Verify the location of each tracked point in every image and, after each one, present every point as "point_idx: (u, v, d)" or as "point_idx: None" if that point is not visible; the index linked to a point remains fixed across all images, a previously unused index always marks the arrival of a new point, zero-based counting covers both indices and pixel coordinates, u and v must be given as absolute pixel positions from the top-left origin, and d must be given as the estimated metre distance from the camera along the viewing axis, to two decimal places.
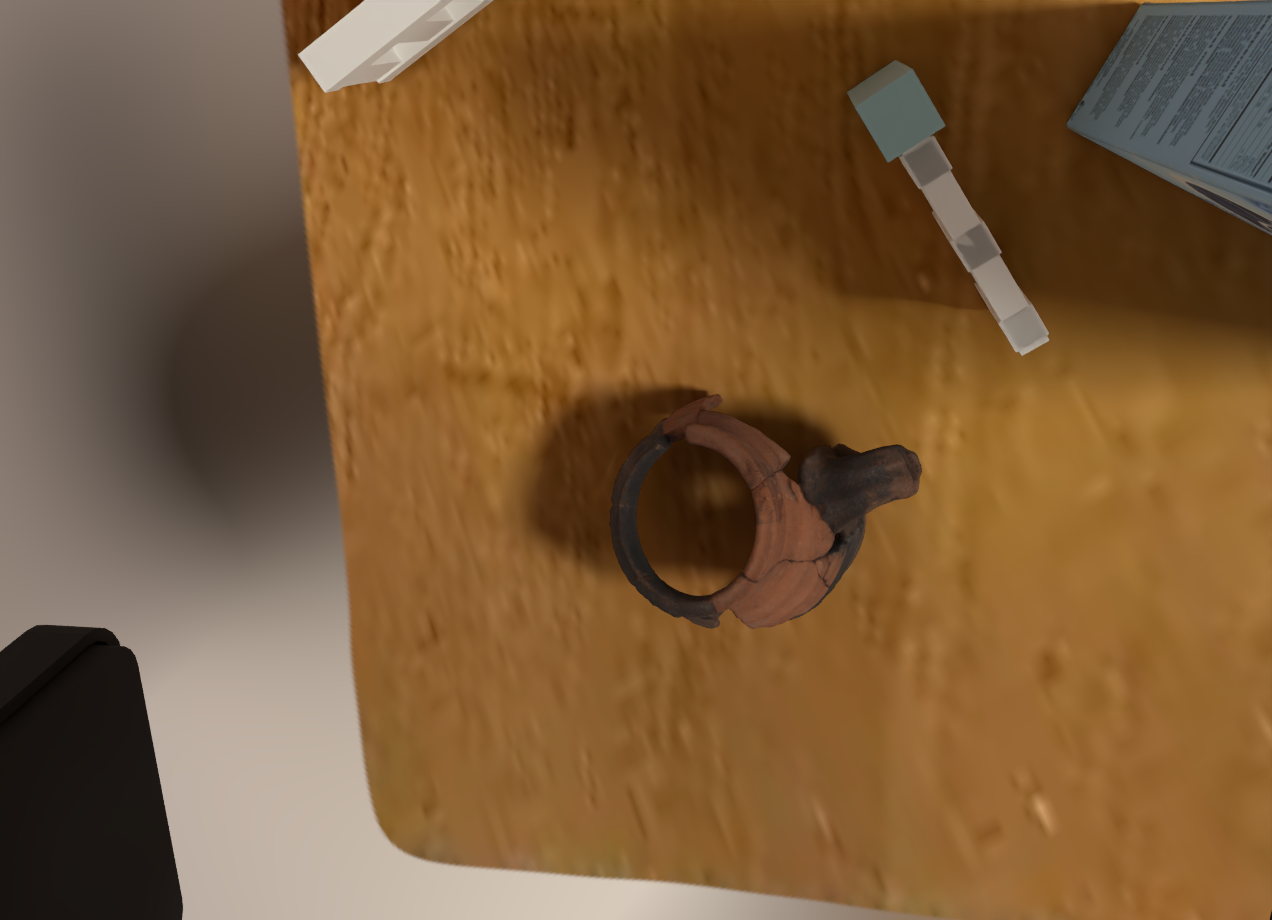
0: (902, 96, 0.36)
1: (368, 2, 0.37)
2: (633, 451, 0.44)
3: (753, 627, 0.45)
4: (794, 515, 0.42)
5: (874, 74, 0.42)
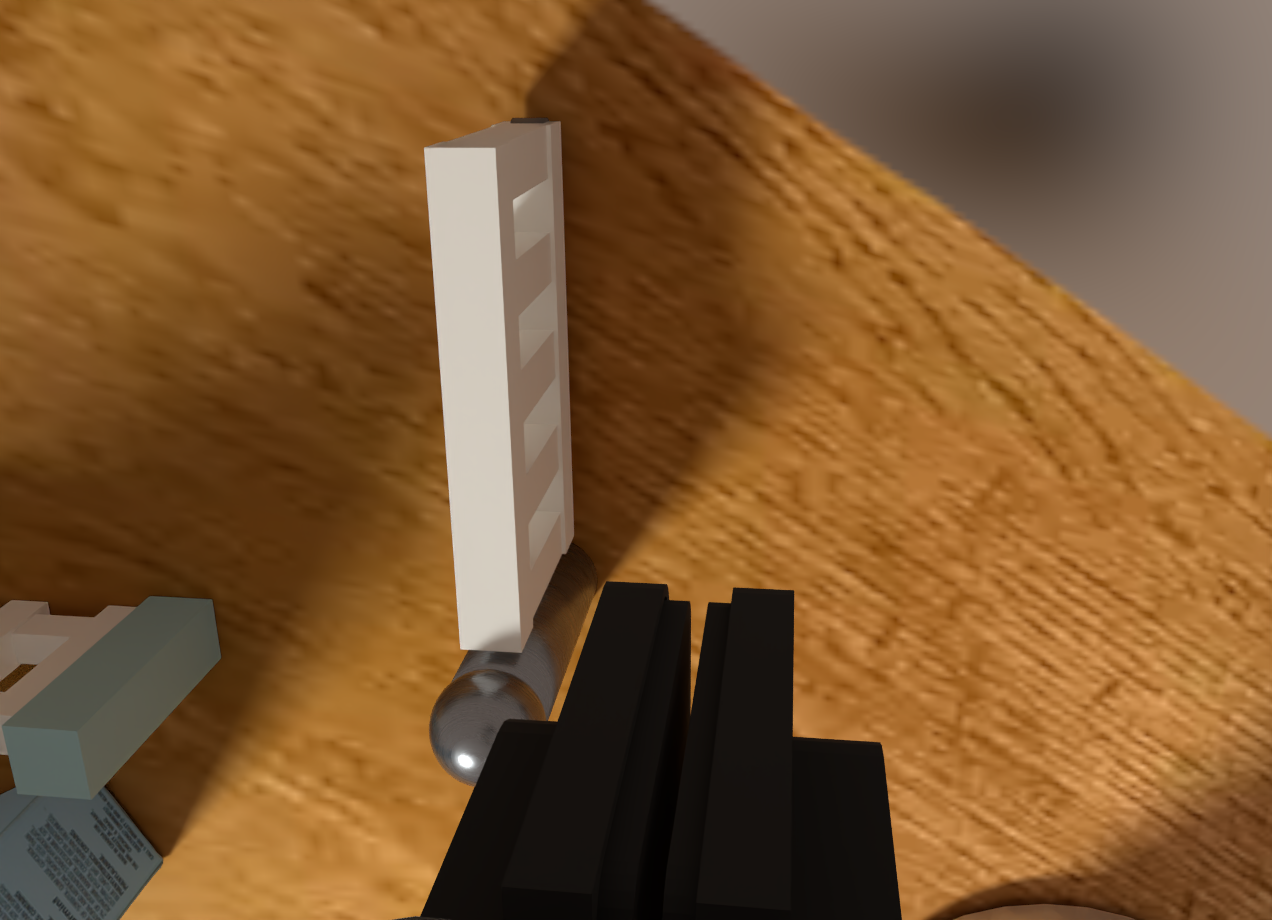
0: (66, 776, 0.29)
1: (497, 300, 0.23)
2: None
3: None
4: None
5: (211, 639, 0.35)
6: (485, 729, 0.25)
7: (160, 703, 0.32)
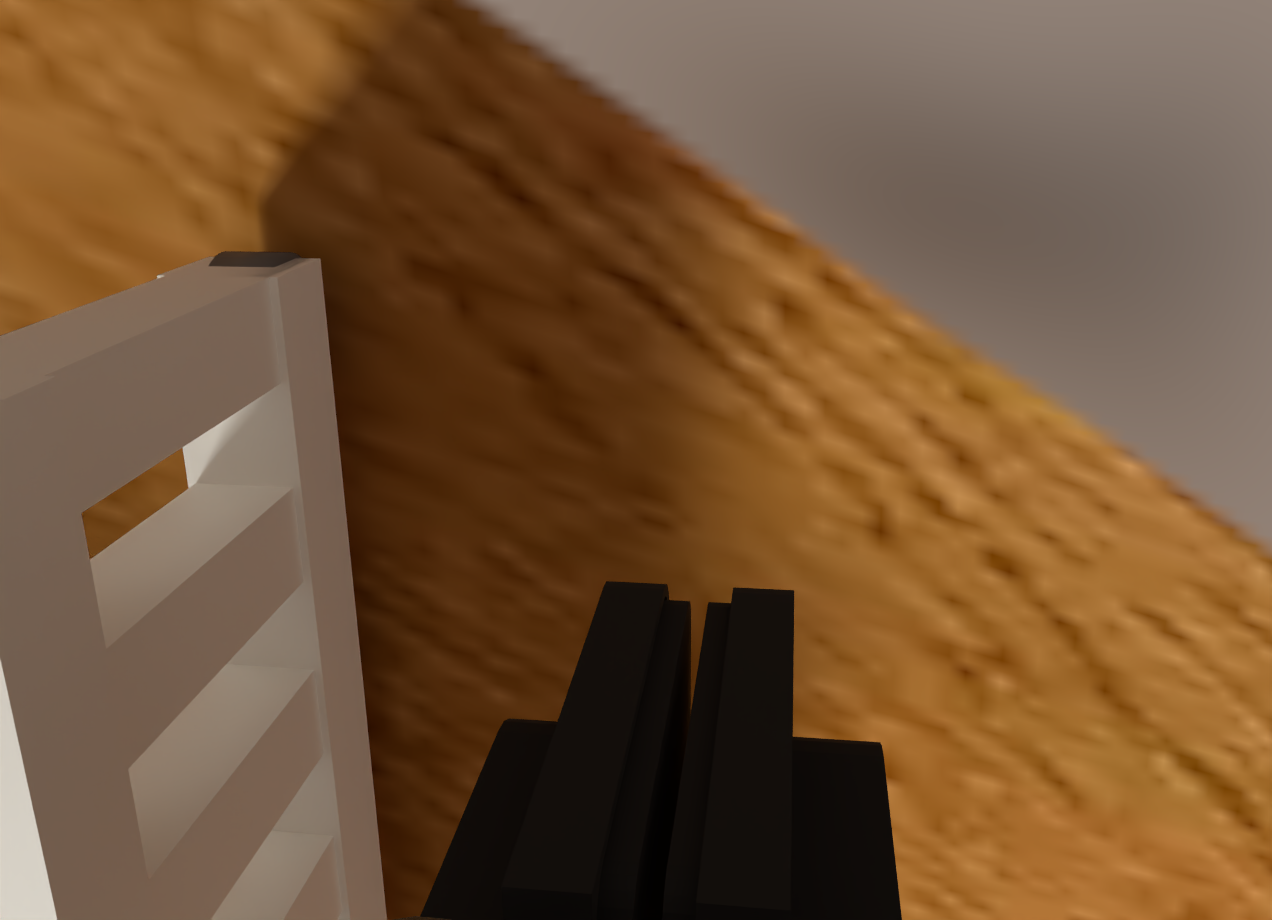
0: None
1: (13, 792, 0.09)
2: None
3: None
4: None
5: None
6: None
7: None
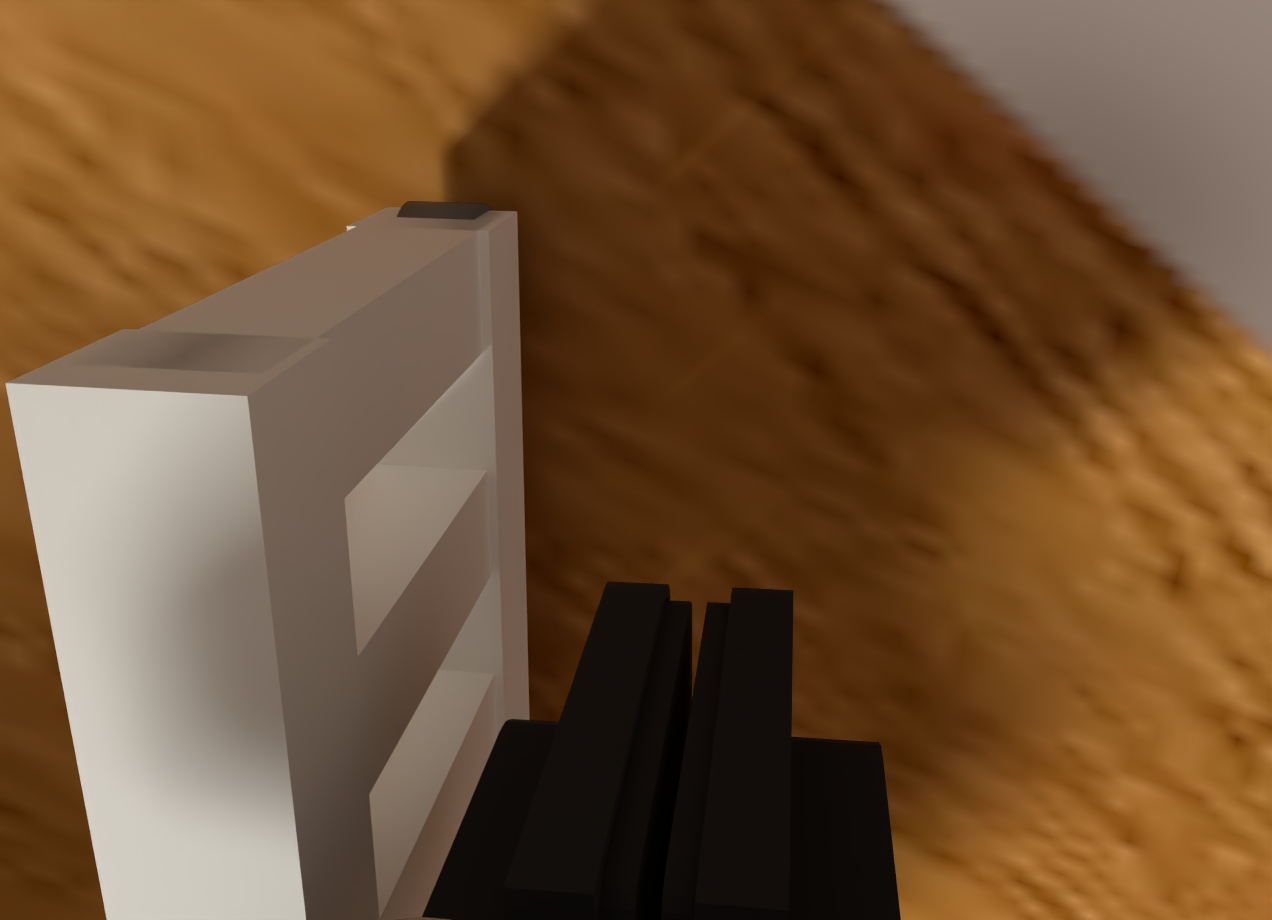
0: None
1: (277, 842, 0.07)
2: None
3: None
4: None
5: None
6: None
7: None
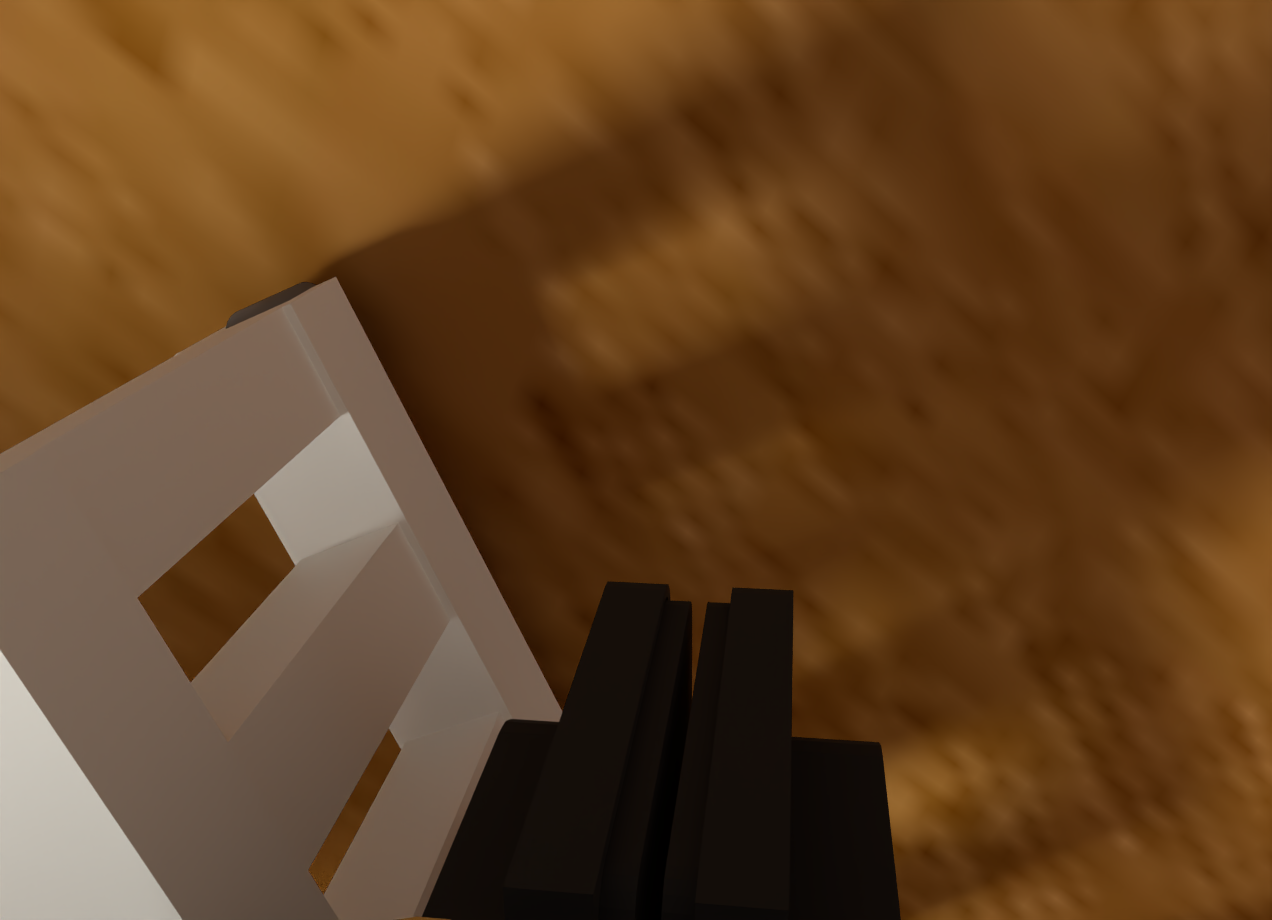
0: None
1: None
2: None
3: None
4: None
5: None
6: None
7: None
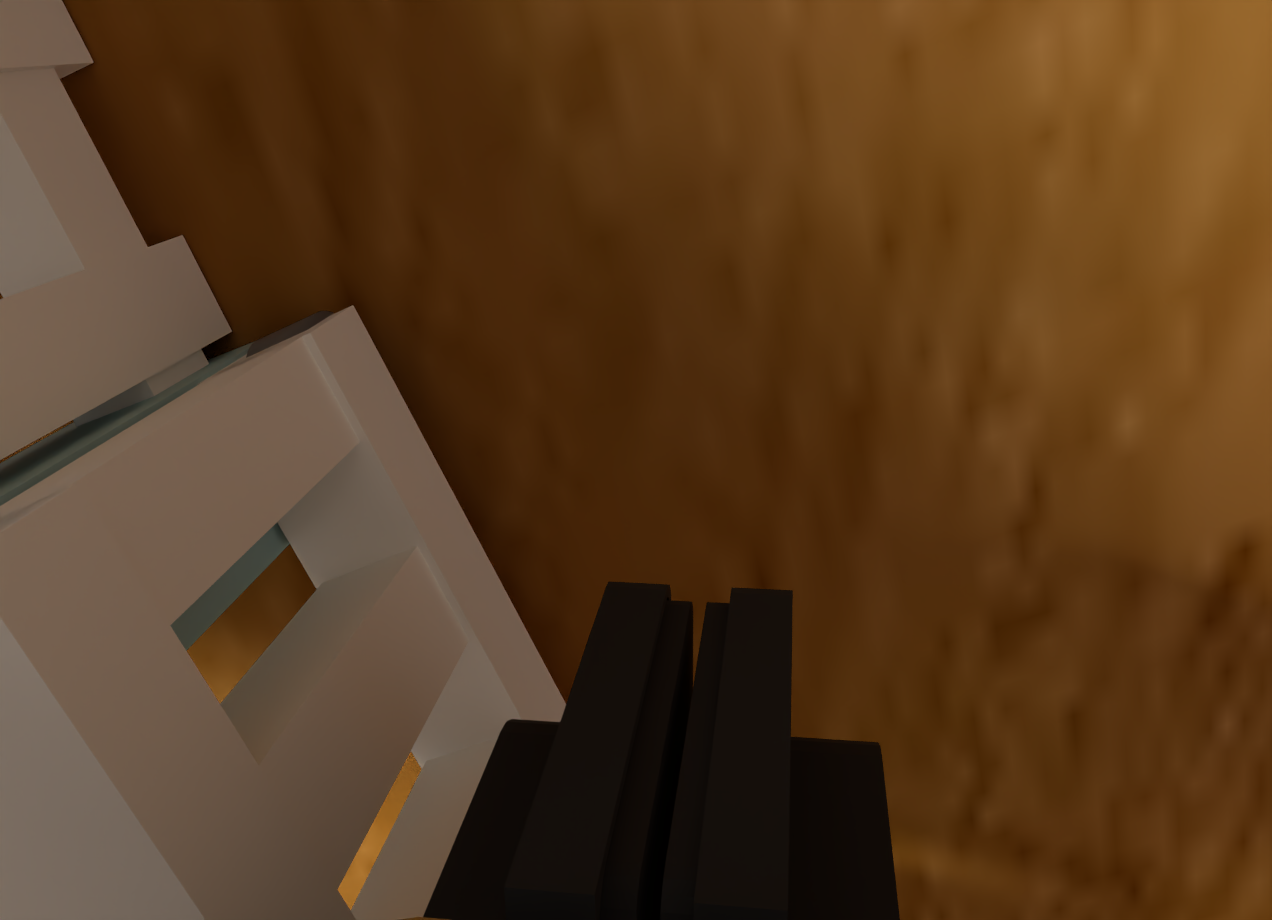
0: None
1: None
2: None
3: None
4: None
5: None
6: None
7: None
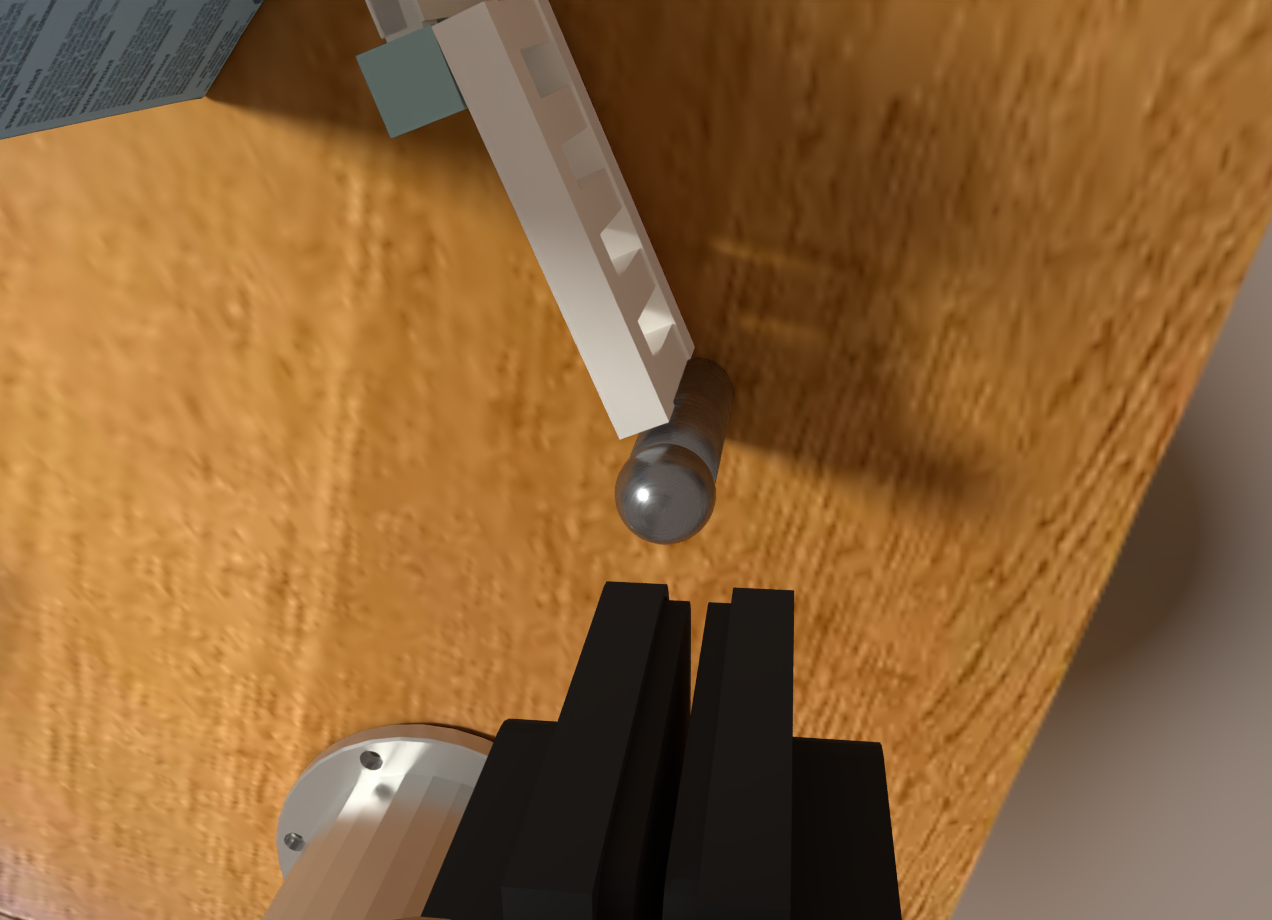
0: (405, 107, 0.28)
1: (533, 126, 0.27)
2: None
3: None
4: None
5: None
6: (688, 513, 0.29)
7: None
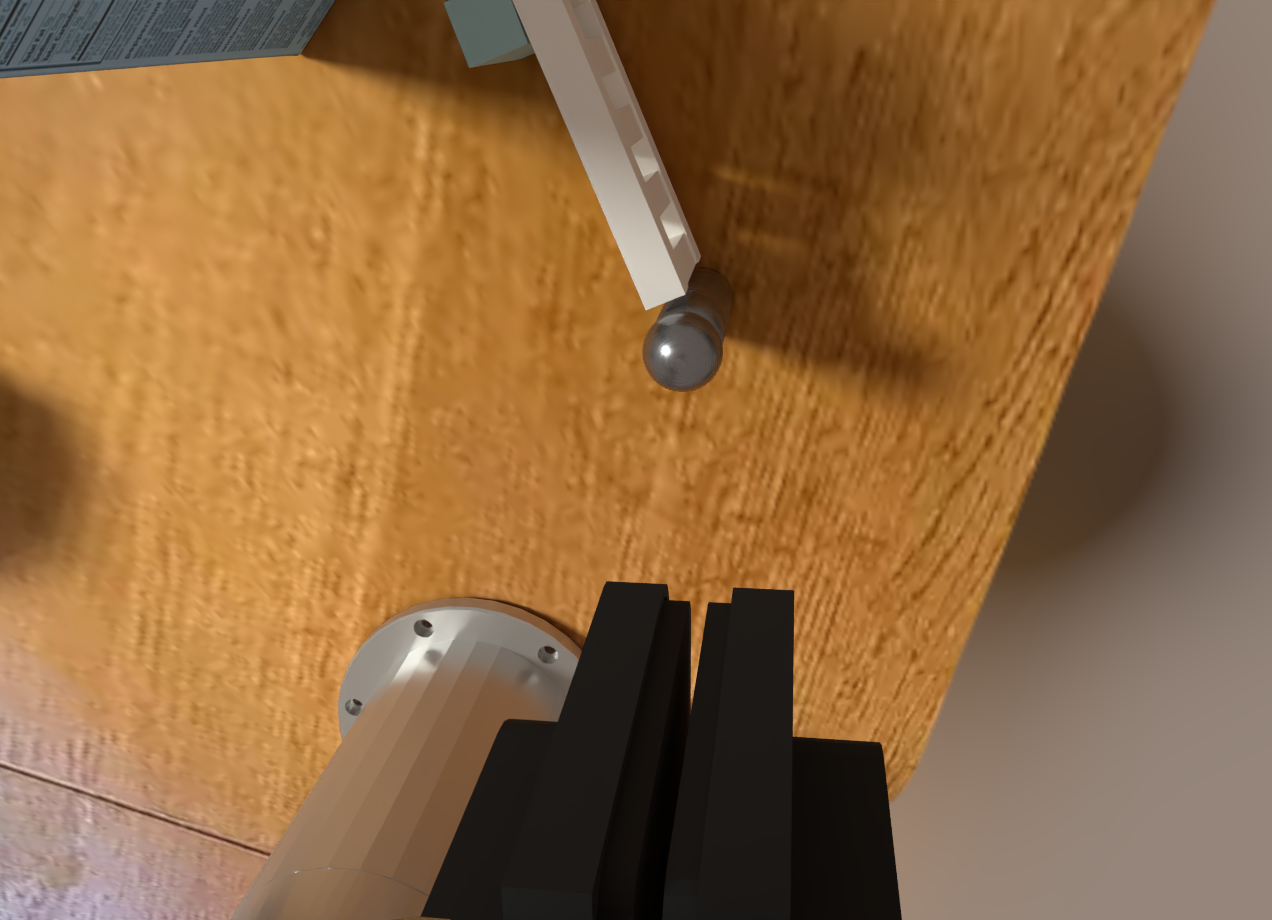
0: (481, 43, 0.36)
1: (581, 56, 0.35)
2: None
3: None
4: None
5: None
6: (702, 361, 0.37)
7: (512, 57, 0.39)
